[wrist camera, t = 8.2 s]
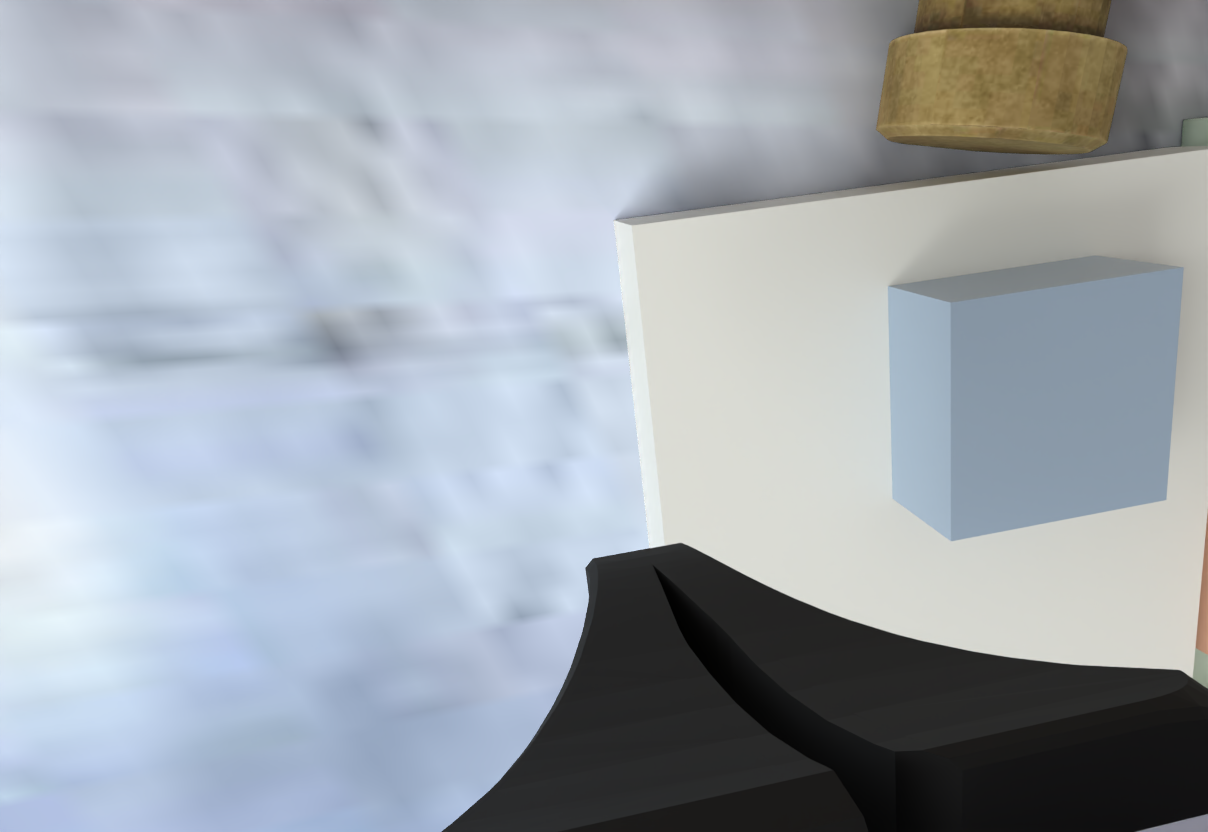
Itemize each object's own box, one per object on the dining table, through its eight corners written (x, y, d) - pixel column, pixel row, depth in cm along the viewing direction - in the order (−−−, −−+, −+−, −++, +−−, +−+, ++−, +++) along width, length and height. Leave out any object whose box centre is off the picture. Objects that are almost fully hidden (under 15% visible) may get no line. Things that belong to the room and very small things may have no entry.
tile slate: (1085, 463, 21) (1166, 499, 19) (892, 498, 21) (951, 541, 18) (1095, 255, 20) (1183, 267, 18) (888, 286, 19) (950, 302, 17)
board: (1132, 705, 26) (1186, 747, 24) (677, 808, 24) (697, 862, 22) (1170, 147, 22) (1240, 144, 20) (613, 219, 20) (631, 225, 18)
